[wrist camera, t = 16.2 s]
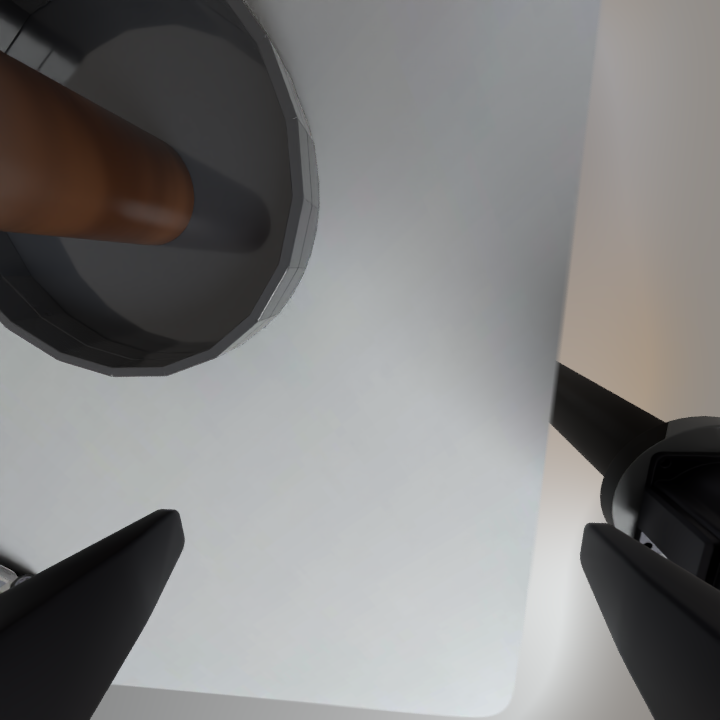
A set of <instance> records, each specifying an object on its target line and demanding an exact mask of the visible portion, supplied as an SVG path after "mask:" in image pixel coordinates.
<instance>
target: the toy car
mask: <svg viewBox="0 0 720 720" xmlns="http://www.w3.org/2000/svg"><path fill="white" fill-rule="evenodd" d="M33 576H34V575H31V574H26V575H22V576H20V577H17V576H16V573H15V572H13V571H12V570H10V569H8V568H6V567H4V566H2V565H0V594H1V593H2V592H4V591H6V590H8V589H10V588H12V587H14V586H16V585H17V584H19V583H21V582H23V581H25V580H27V579H29V578H31V577H33Z"/></svg>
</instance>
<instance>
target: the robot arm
mask: <svg viewBox="0 0 720 720" xmlns="http://www.w3.org/2000/svg"><path fill="white" fill-rule="evenodd" d="M663 460H665V461H664V462H663V463H661V462H662V461H663ZM184 542H185V538H184V533H183V528H182V523H181V519H180V514H179V513H178V511H177V510H172V509H160V510H157V511H155V512H153V513H151V514H149V515H147V516H145V517H144V518H142V519H140V520H138V521H136V522H134V523H132V524H130V525H129V526H127V527H125V528H123V529H121V530H119V531H117V532H115V533H113V534H112V535H110V536H108V537H106V538H104V539H102V540H100V541H98V542H97V543H95V544H93V545H91V546H89V547H87V548H85V549H83V550H81V551H80V552H78V553H76V554H74V555H72V556H70V557H68V558H66V559H65V560H63V561H61V562H59V563H57V564H55V565H53V566H51V567H49V568H48V569H46V570H44V571H42V572H40V573H38V574H36V575H34V576H33V577H31V578H29V579H27V580H25V581H23V582H21V583H19V584H17V585H16V586H14V587H12V588H10V589H8V590H6V591H4V592H2V593H1V594H0V720H90V718H91V717H92V715H93V713H94V712H95V710H96V708H97V707H98V705H99V703H100V702H101V700H102V698H103V696H104V694H105V693H106V691H107V690H108V688H109V686H110V685H111V683H112V681H113V680H114V678H115V676H116V674H117V673H118V671H119V669H120V668H121V666H122V664H123V663H124V661H125V659H126V657H127V656H128V654H129V652H130V651H131V649H132V647H133V646H134V644H135V642H136V641H137V639H138V637H139V635H140V634H141V632H142V630H143V628H144V627H145V625H146V623H147V621H148V619H149V617H150V615H151V614H152V612H153V610H154V608H155V606H156V604H157V602H158V599H159V597H160V595H161V593H162V591H163V589H164V587H165V585H166V583H167V581H168V579H169V577H170V575H171V573H172V571H173V569H174V567H175V565H176V563H177V560H178V558H179V556H180V554H181V552H182V550H183V547H184ZM660 554H664V555H665V556H666V557H667V558H665V557H663V556H662V555H660ZM580 560H581V564H582V568H583V570H584V572H585V575H586V577H587V579H588V582H589V584H590V586H591V589H592V591H593V593H594V596H595V598H596V600H597V603H598V605H599V607H600V610H601V612H602V614H603V617H604V619H605V621H606V624H607V626H608V628H609V631H610V633H611V635H612V638H613V640H614V642H615V644H616V646H617V648H618V651H619V653H620V655H621V656H622V659H623V661H624V663H625V665H626V667H627V669H628V671H629V673H630V674H631V676H632V678H633V680H634V682H635V684H636V686H637V687H638V689H639V691H640V693H641V695H642V697H643V699H644V701H645V702H646V704H647V706H648V708H649V709H650V712H651V714H652V716H653V717H654V719H655V720H720V452H670V451H661V452H657V453H655V454H654V455H653V456H652V457H651V459H650V464H649V469H648V474H647V479H646V484H645V488H644V493H643V498H642V503H641V508H640V512H639V517H638V522H637V528H636V533H635V537H634V538H632V537H630V536H629V535H627V534H625V533H624V532H622V531H621V530H619V529H617V528H616V527H614V526H612V525H610V524H607V523H588V524H587V525H586V526H585V528H584V533H583V540H582V546H581V552H580Z"/></svg>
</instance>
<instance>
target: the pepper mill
mask: <svg viewBox="0 0 720 720" xmlns="http://www.w3.org/2000/svg"><path fill="white" fill-rule="evenodd" d="M193 207H194V189H193V184H192V180H191V177H190V174H189V171H188V169H187V167H186V165H185V164H184V162H183V160H182V159H181V157H180V156H179V155H178V154H177V152H176V151H175V150H174V149H173V148H172V147H170V146H169V145H168V144H167V143H165V142H164V141H162V140H161V139H159V138H157V137H155V136H153V135H152V134H150V133H148V132H146V131H144V130H143V129H141V128H139V127H137V126H135V125H134V124H132V123H130V122H128V121H126V120H125V119H123V118H121V117H119V116H117V115H116V114H114V113H112V112H110V111H108V110H107V109H105V108H103V107H101V106H99V105H98V104H96V103H94V102H92V101H90V100H89V99H87V98H85V97H83V96H81V95H80V94H78V93H76V92H74V91H72V90H71V89H69V88H67V87H65V86H63V85H62V84H60V83H58V82H56V81H54V80H53V79H51V78H49V77H47V76H45V75H44V74H42V73H40V72H38V71H36V70H35V69H33V68H31V67H29V66H27V65H26V64H24V63H22V62H20V61H18V60H17V59H15V58H13V57H11V56H9V55H8V54H6V53H4V52H2V51H0V231H4V232H14V233H25V234H35V235H46V236H56V237H67V238H77V239H88V240H98V241H109V242H119V243H130V244H140V245H162V244H165V243H168V242H170V241H172V240H174V239H175V238H177V237H178V236H179V235H180V234H181V233H182V232H183V231H184V230H185V228H186V227H187V225H188V223H189V221H190V219H191V216H192V212H193Z"/></svg>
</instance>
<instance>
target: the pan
mask: <svg viewBox="0 0 720 720" xmlns="http://www.w3.org/2000/svg"><path fill="white" fill-rule="evenodd" d="M0 51H2V52H4V53H6V54H8V55H9V56H11V57H13V58H15V59H17V60H18V61H20V62H22V63H24V64H26V65H27V66H29V67H31V68H33V69H35V70H36V71H38V72H40V73H42V74H44V75H45V76H47V77H49V78H51V79H53V80H54V81H56V82H58V83H60V84H62V85H63V86H65V87H67V88H69V89H71V90H72V91H74V92H76V93H78V94H80V95H81V96H83V97H85V98H87V99H89V100H90V101H92V102H94V103H96V104H98V105H99V106H101V107H103V108H105V109H107V110H108V111H110V112H112V113H114V114H116V115H117V116H119V117H121V118H123V119H125V120H126V121H128V122H130V123H132V124H134V125H135V126H137V127H139V128H141V129H143V130H144V131H146V132H148V133H150V134H152V135H153V136H155V137H157V138H159V139H161V140H162V141H164V142H165V143H167V144H168V145H169V146H170V147H172V148H173V149H174V150H175V151H176V152H177V154H178V155H179V156H180V157H181V159H182V160H183V162H184V164H185V165H186V167H187V169H188V171H189V174H190V177H191V180H192V184H193V189H194V207H193V212H192V216H191V219H190V221H189V223H188V225H187V227H186V228H185V230H184V231H183V232H182V233H181V234H180V235H179V236H178V237H177V238H175V239H174V240H172V241H170V242H168V243H165V244H162V245H140V244H130V243H119V242H109V241H98V240H88V239H77V238H67V237H56V236H46V235H35V234H25V233H14V232H4V231H0V322H1V323H2V324H3V325H4V326H5V327H6V328H8V329H9V330H10V331H12V332H13V333H15V334H17V335H18V336H20V337H21V338H23V339H25V340H26V341H28V342H29V343H31V344H33V345H34V346H36V347H37V348H39V349H41V350H42V351H44V352H45V353H47V354H49V355H50V356H52V357H53V358H55V359H57V360H59V361H62V362H65V363H68V364H72V365H75V366H78V367H81V368H85V369H88V370H91V371H95V372H98V373H101V374H105V375H108V376H113V377H143V376H168V375H171V374H174V373H177V372H179V371H182V370H185V369H187V368H190V367H193V366H196V365H198V364H201V363H204V362H207V361H209V360H212V359H215V358H217V357H219V356H221V355H223V354H225V353H227V352H229V351H231V350H233V349H235V348H237V347H239V346H241V345H242V344H244V343H245V342H246V341H247V340H249V339H250V338H251V337H252V336H254V335H255V334H256V333H257V332H259V331H260V330H261V329H263V328H264V327H265V326H267V325H268V324H269V322H270V321H271V320H272V319H273V318H275V317H276V316H277V315H278V314H279V313H280V311H281V310H282V308H283V307H284V306H285V304H286V303H287V302H288V300H289V299H290V297H291V296H292V295H293V293H294V291H295V289H296V287H297V285H298V284H299V282H300V280H301V278H302V276H303V274H304V271H305V269H306V266H307V263H308V261H309V258H310V255H311V252H312V248H313V244H314V240H315V235H316V231H317V222H318V214H319V176H318V168H317V160H316V153H315V145H314V141H313V138H312V136H311V132H310V128H309V125H308V122H307V120H306V117H305V114H304V112H303V109H302V106H301V104H300V101H299V99H298V96H297V94H296V91H295V88H294V85H293V82H292V80H291V78H290V76H289V74H288V72H287V70H286V68H285V67H284V65H283V63H282V61H281V59H280V57H279V55H278V54H277V52H276V50H275V48H274V46H273V44H272V42H271V41H270V39H269V37H268V35H267V33H266V32H265V31H264V29H263V28H262V27H261V25H260V24H259V22H258V21H257V20H256V18H255V17H254V15H253V14H252V13H251V11H250V10H249V8H248V7H247V6H246V4H245V3H244V1H243V0H0Z"/></svg>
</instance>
